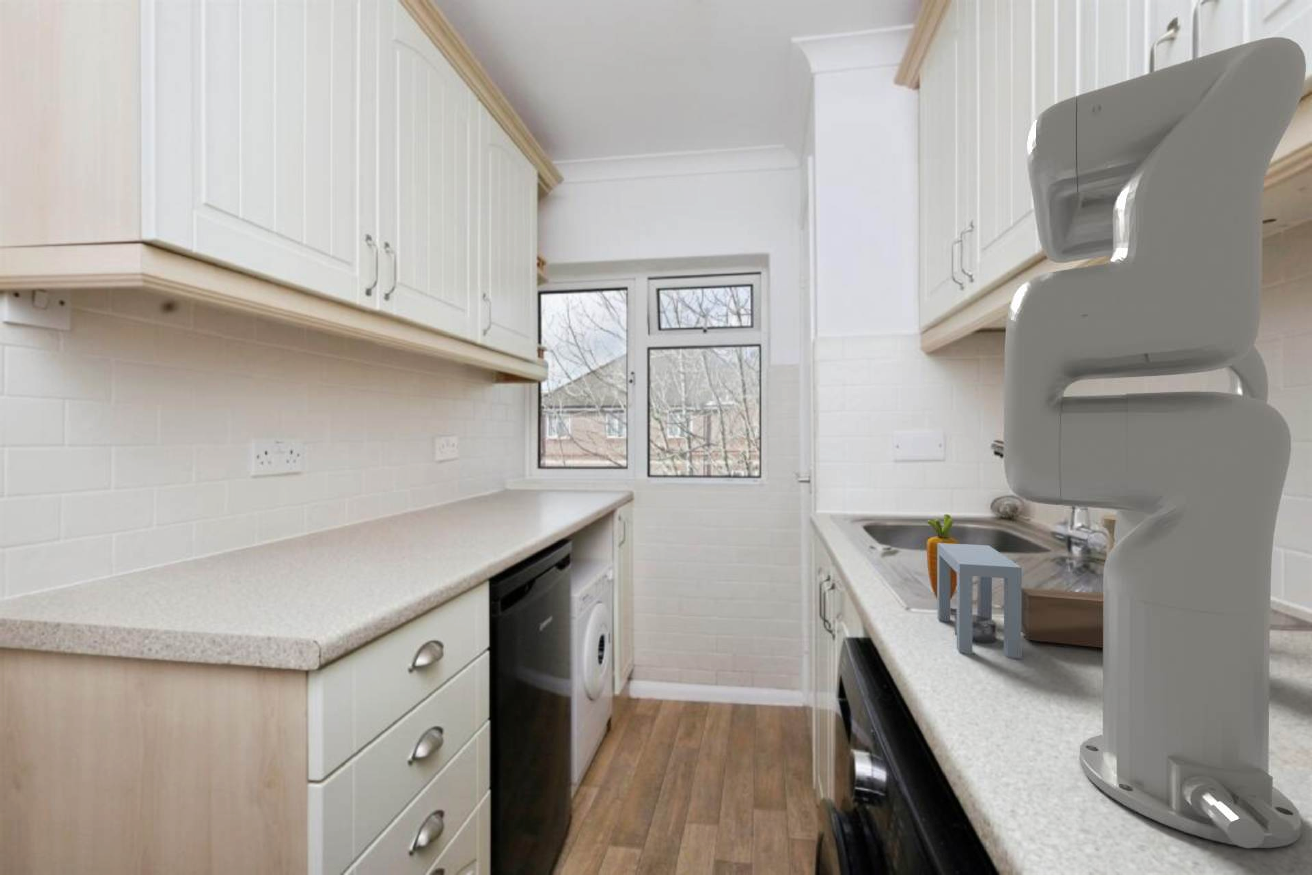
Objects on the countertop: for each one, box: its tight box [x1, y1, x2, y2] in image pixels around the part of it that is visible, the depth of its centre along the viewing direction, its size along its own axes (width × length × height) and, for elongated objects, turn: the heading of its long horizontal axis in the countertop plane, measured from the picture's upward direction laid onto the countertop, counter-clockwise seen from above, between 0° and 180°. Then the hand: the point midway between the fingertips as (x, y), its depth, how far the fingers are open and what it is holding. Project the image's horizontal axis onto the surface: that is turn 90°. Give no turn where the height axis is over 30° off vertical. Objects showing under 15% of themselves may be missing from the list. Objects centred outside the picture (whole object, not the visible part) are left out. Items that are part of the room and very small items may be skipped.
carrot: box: [926, 513, 961, 601], centre depth 90 cm, size 5×5×15 cm
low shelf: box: [936, 543, 1023, 660], centre depth 77 cm, size 14×7×12 cm, turn 164°
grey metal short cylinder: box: [954, 614, 997, 644], centre depth 77 cm, size 5×5×2 cm
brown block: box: [1021, 586, 1103, 648], centre depth 73 cm, size 4×18×6 cm, turn 71°
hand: (1149, 639), depth 72 cm, fingers closed on brown block, 4 cm apart
